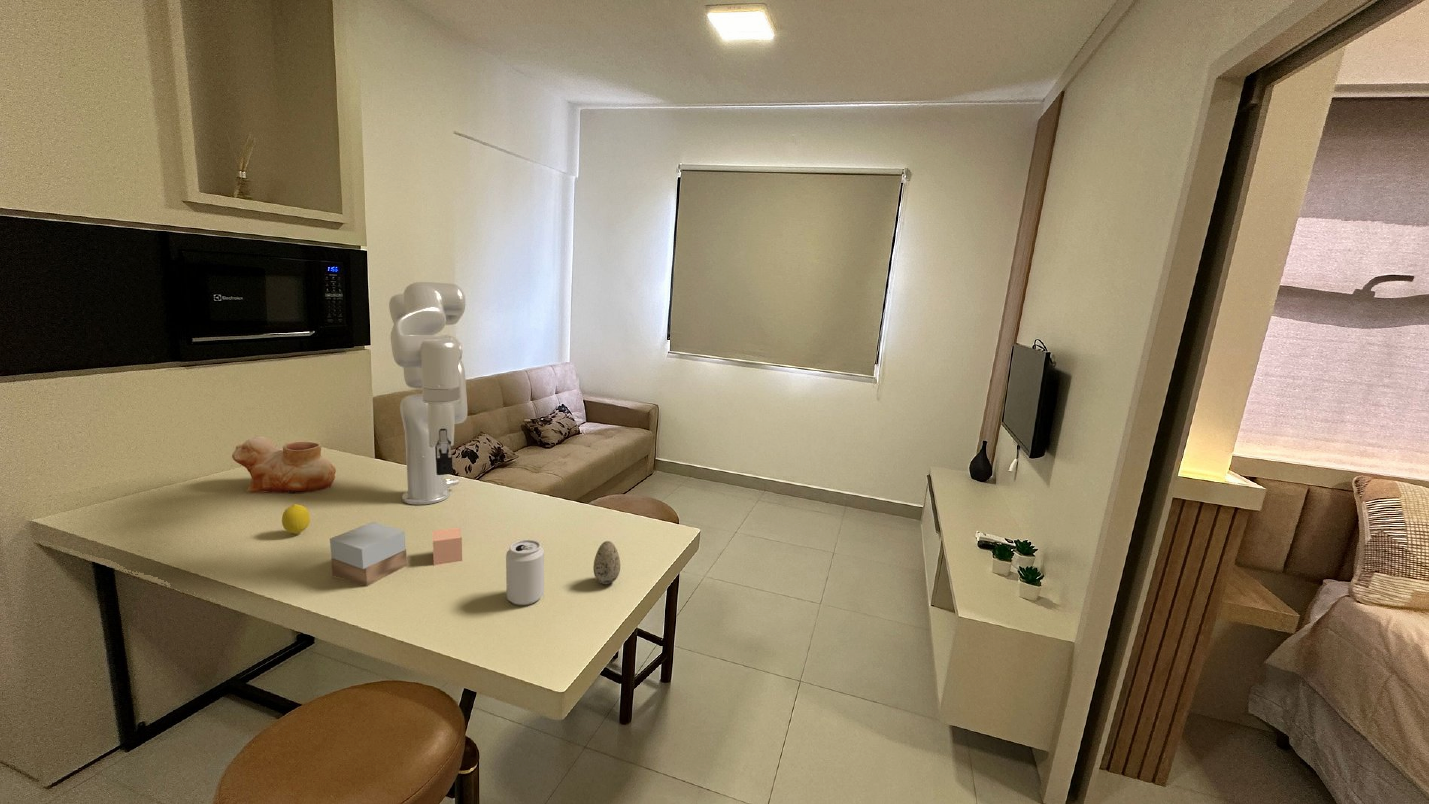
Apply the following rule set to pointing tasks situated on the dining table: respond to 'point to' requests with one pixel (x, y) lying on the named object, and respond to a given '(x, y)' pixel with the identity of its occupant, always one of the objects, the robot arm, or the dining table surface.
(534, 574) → the can
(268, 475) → the ceramic vessel
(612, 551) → the decorative egg
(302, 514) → the lemon
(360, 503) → the dining table surface
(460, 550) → the block
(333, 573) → the tower base
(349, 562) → the tower top
